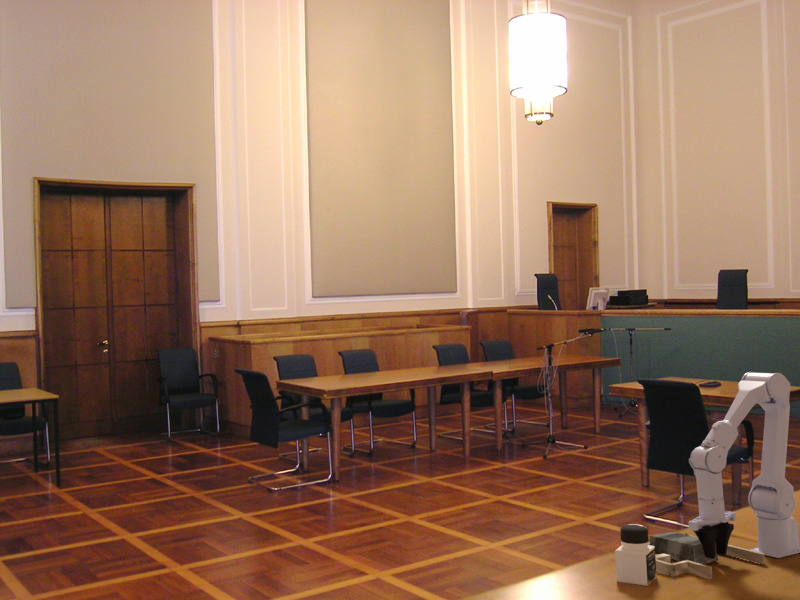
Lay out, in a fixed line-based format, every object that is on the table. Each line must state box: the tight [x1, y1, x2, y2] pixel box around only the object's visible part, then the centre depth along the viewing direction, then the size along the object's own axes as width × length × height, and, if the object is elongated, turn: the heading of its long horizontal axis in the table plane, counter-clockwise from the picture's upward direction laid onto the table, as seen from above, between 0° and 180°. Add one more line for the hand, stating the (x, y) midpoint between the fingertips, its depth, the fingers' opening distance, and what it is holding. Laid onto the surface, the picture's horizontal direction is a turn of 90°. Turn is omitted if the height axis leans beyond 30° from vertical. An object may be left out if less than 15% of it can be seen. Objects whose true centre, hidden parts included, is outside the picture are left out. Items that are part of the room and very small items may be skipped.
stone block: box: [648, 531, 719, 565], centre depth 200 cm, size 9×14×5 cm, turn 27°
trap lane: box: [649, 534, 766, 580], centre depth 196 cm, size 24×23×2 cm
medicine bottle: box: [614, 523, 657, 587], centre depth 184 cm, size 7×7×12 cm
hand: (715, 556), depth 193 cm, fingers closed on stone block, 3 cm apart
